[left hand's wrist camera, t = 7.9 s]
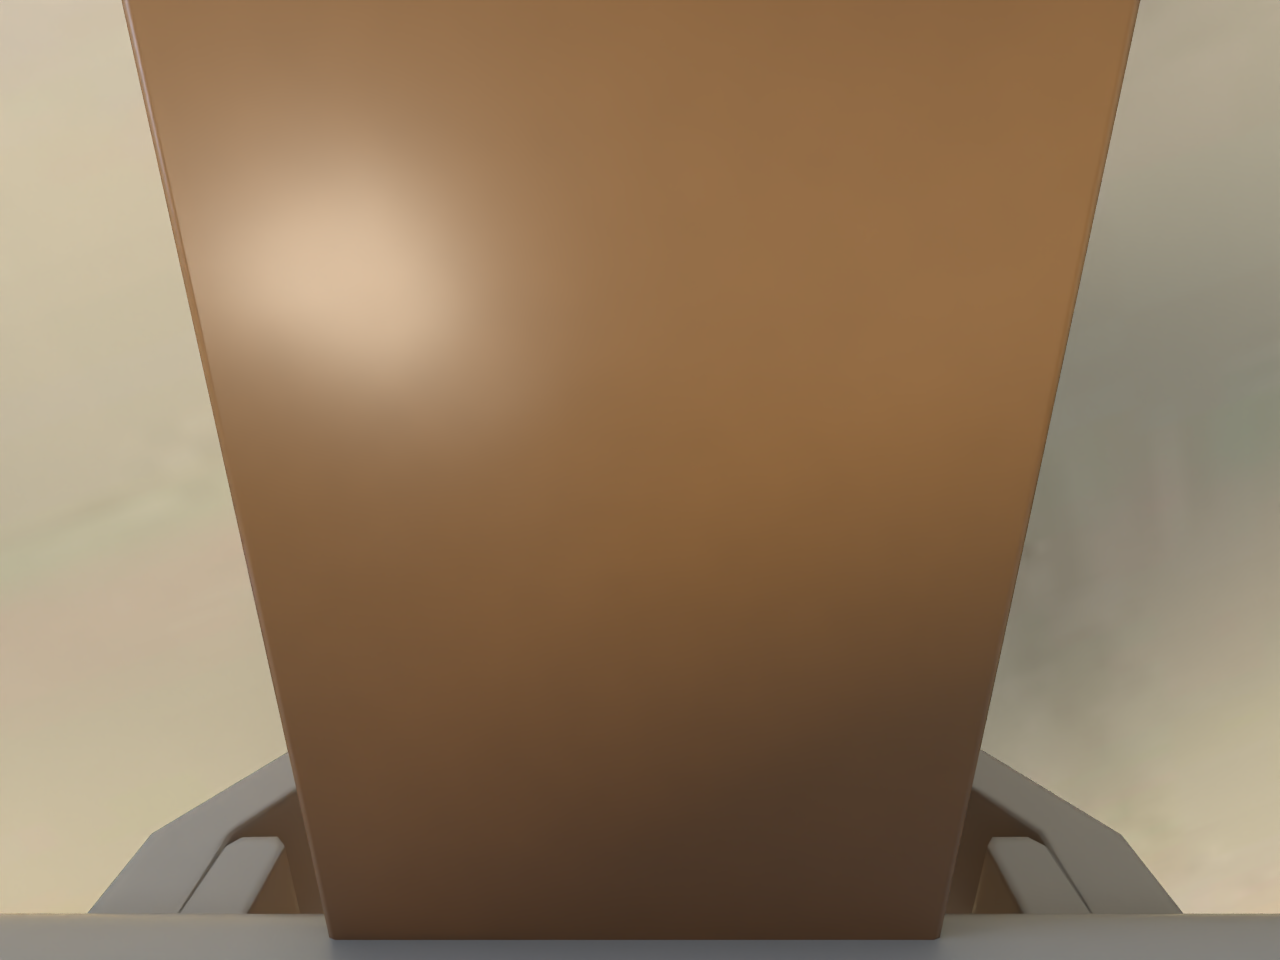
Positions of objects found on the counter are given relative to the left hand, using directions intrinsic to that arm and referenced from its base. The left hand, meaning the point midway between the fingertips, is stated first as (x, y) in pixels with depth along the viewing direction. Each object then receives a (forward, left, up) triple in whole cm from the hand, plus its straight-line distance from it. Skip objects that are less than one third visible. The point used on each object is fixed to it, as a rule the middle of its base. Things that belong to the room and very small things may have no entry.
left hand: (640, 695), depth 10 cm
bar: (+10, 0, -3) cm, 11 cm away
